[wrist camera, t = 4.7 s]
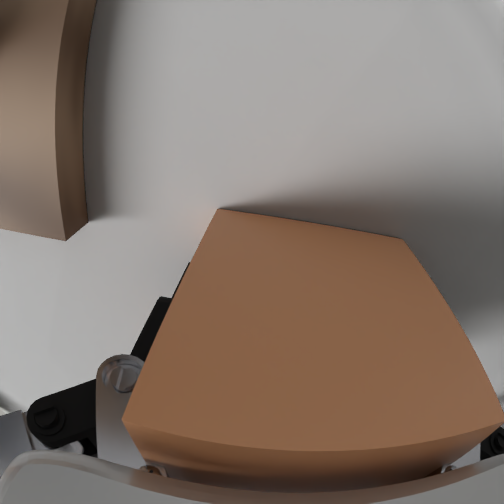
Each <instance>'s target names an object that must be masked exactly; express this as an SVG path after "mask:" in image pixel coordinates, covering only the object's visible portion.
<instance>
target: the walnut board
mask: <svg viewBox="0 0 504 504" xmlns="http://www.w3.org/2000/svg"><path fill="white" fill-rule="evenodd" d="M96 1H97V0H0V229H5V230H10V231H15V232H20V233H26V234H31V235H36V236H41V237H47V238H52V239H57V240H63V241H67V240H68V239H69V238H70V237H71V236H72V235H74V234H75V233H76V232H77V231H78V230H80V229H81V228H82V227H83V226H84V225H86V224H87V223H88V217H87V208H86V197H85V185H84V168H83V98H84V83H85V71H86V61H87V53H88V45H89V38H90V32H91V26H92V20H93V15H94V10H95V5H96Z"/></svg>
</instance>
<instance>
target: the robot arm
mask: <svg viewBox="0 0 504 504" xmlns="http://www.w3.org/2000/svg"><path fill="white" fill-rule="evenodd" d="M189 264H190V262H189V263H188V265H187V267H186V269H185V271H184V273H183V275H182V278H181V280H180V282H179V284H178V286H177V288H176V290H175V292H174V294H173V296H172V298H167V297H162V296H161V297H159V299H158V300H157V302H156V304H155V306H154V308H153V310H152V312H151V314H150V316H149V318H148V320H147V322H146V324H145V326H144V328H143V330H142V332H141V334H140V336H139V338H138V340H137V342H136V344H135V346H134V348H133V350H132V352H131V354H130V355H126V354H121V355H115V356H112V357H110V358H108V359H106V360H105V361H104V362H103V363H102V364H101V365H100V367H99V368H98V371H97V375H96V379H94V380H91V381H88V382H85V383H83V384H80V385H77V386H74V387H71V388H69V389H66V390H63V391H60V392H57V393H54V394H51V395H48V396H45V397H42V398H40V399H38V400H36V401H35V402H34V403H33V404H32V405H31V406H30V408H29V409H28V412H24V413H23V412H22V411H21V410H19V411H16V412H12V413H9V414H5V415H2V416H0V504H504V429H503V428H501V427H498V428H497V429H496V430H495V431H494V432H493V433H492V434H490V435H489V436H488V437H487V438H486V439H484V440H483V441H482V442H481V443H479V444H478V445H477V446H475V447H474V448H473V449H472V450H470V451H469V452H468V453H466V454H465V455H463V456H462V457H461V458H459V459H458V460H456V461H455V462H453V463H450V464H446V465H443V466H441V467H439V468H438V469H436V470H435V471H433V472H432V473H430V474H428V475H427V476H425V477H424V478H422V479H418V480H413V481H409V482H404V483H399V484H393V485H387V486H381V487H375V488H367V489H359V490H349V491H337V492H318V493H281V492H261V491H248V490H238V489H230V488H222V487H216V486H209V485H203V484H198V483H193V482H187V481H182V480H177V479H173V478H170V477H169V475H168V473H167V470H166V468H165V466H161V465H158V464H154V463H150V462H147V461H145V460H144V459H143V457H142V456H141V454H140V452H139V450H138V449H137V447H136V445H135V444H134V442H133V440H132V438H131V437H130V435H129V433H128V431H127V429H126V427H125V425H124V424H123V422H122V420H121V419H122V417H123V414H124V412H125V409H126V407H127V404H128V402H129V399H130V397H131V394H132V392H133V389H134V387H135V384H136V382H137V379H138V377H139V375H140V372H141V370H142V368H143V365H144V363H145V361H146V358H147V356H148V354H149V351H150V349H151V347H152V344H153V342H154V340H155V338H156V335H157V333H158V331H159V329H160V326H161V324H162V322H163V320H164V317H165V315H166V313H167V311H168V309H169V307H170V304H171V302H172V300H173V298H174V296H175V294H176V292H177V289H178V287H179V285H180V283H181V281H182V279H183V277H184V275H185V273H186V271H187V268H188V266H189Z"/></svg>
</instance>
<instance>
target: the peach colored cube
mask: <svg viewBox="0 0 504 504" xmlns="http://www.w3.org/2000/svg"><path fill="white" fill-rule="evenodd" d="M121 420H122V422H123V424H124V425H125V427H126V429H127V431H128V433H129V435H130V437H131V438H132V440H133V442H134V444H135V445H136V447H137V449H138V450H139V452H140V454H141V456H142V457H143V459H144V460H145V461H147V462H150V463H154V464H158V465H161V466H165V468H166V470H167V473H168V475H169V477H170V478H173V479H177V480H182V481H187V482H193V483H198V484H203V485H209V486H216V487H222V488H230V489H238V490H248V491H261V492H281V493H318V492H337V491H349V490H359V489H367V488H375V487H381V486H387V485H393V484H399V483H404V482H409V481H413V480H418V479H422V478H424V477H425V476H427V475H428V474H430V473H432V472H433V471H435V470H436V469H438V468H439V467H441V466H443V465H446V464H450V463H453V462H455V461H456V460H458V459H459V458H461V457H462V456H463V455H465V454H466V453H468V452H469V451H470V450H472V449H473V448H474V447H475V446H477V445H478V444H479V443H481V442H482V441H483V440H484V439H486V438H487V437H488V436H489V435H490V434H492V433H493V432H494V431H495V430H496V429H497V428H498V427H500V426H501V425H502V424H503V423H504V412H503V410H502V408H501V405H500V403H499V400H498V398H497V396H496V394H495V391H494V389H493V387H492V385H491V383H490V380H489V378H488V376H487V374H486V372H485V370H484V368H483V366H482V364H481V362H480V360H479V358H478V356H477V354H476V352H475V351H474V349H473V347H472V345H471V343H470V341H469V340H468V338H467V336H466V334H465V332H464V331H463V329H462V327H461V326H460V324H459V322H458V320H457V319H456V317H455V315H454V314H453V312H452V311H451V309H450V307H449V306H448V304H447V302H446V301H445V299H444V298H443V296H442V295H441V293H440V292H439V290H438V289H437V287H436V285H435V284H434V282H433V281H432V280H431V278H430V277H429V275H428V274H427V272H426V271H425V269H424V268H423V266H422V265H421V264H420V262H419V261H418V259H417V258H416V257H415V255H414V254H413V253H412V251H411V250H410V248H409V247H408V246H407V244H406V243H405V242H404V240H403V239H399V238H394V237H388V236H383V235H378V234H373V233H367V232H362V231H356V230H351V229H345V228H340V227H334V226H328V225H322V224H316V223H310V222H304V221H298V220H292V219H285V218H279V217H272V216H266V215H259V214H252V213H245V212H238V211H231V210H224V209H217V211H216V213H215V215H214V216H213V218H212V220H211V222H210V224H209V226H208V228H207V230H206V232H205V234H204V236H203V238H202V240H201V242H200V244H199V246H198V248H197V250H196V252H195V254H194V256H193V258H192V260H191V262H190V264H189V266H188V268H187V271H186V273H185V275H184V277H183V279H182V281H181V283H180V285H179V287H178V289H177V292H176V294H175V296H174V298H173V300H172V302H171V304H170V307H169V309H168V311H167V313H166V315H165V317H164V320H163V322H162V324H161V326H160V329H159V331H158V333H157V335H156V338H155V340H154V342H153V344H152V347H151V349H150V351H149V354H148V356H147V358H146V361H145V363H144V365H143V368H142V370H141V372H140V375H139V377H138V379H137V382H136V384H135V387H134V389H133V392H132V394H131V397H130V399H129V402H128V404H127V407H126V409H125V412H124V414H123V417H122V419H121Z"/></svg>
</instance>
